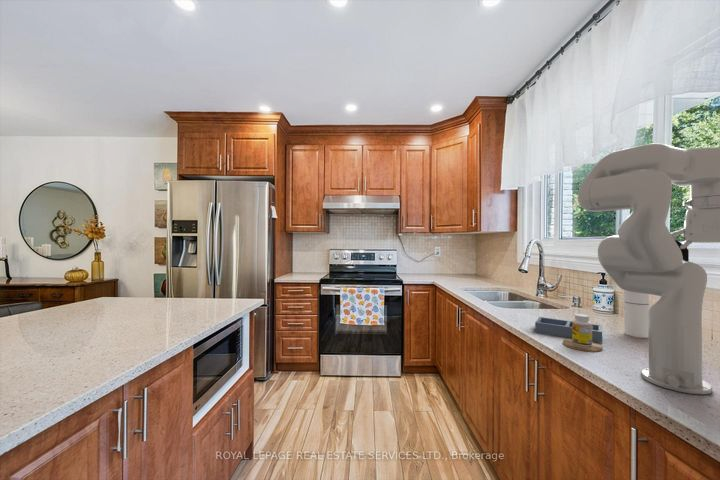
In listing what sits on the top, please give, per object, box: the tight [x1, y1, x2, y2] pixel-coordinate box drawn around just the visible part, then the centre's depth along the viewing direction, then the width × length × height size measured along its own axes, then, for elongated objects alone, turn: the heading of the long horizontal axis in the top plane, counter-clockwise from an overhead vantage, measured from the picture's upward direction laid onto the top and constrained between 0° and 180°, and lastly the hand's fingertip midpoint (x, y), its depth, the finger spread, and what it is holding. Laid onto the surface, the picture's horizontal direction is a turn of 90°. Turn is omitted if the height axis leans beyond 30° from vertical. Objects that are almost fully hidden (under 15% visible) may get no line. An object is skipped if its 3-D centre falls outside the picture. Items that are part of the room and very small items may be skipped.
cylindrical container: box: [623, 290, 650, 339], centre depth 117 cm, size 7×7×25 cm
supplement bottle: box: [571, 313, 593, 347], centre depth 104 cm, size 6×6×10 cm
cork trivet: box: [562, 338, 603, 353], centre depth 104 cm, size 11×11×1 cm
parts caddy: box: [534, 316, 603, 344], centre depth 118 cm, size 11×21×4 cm, turn 51°
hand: (710, 262), depth 86 cm, fingers open, 9 cm apart
